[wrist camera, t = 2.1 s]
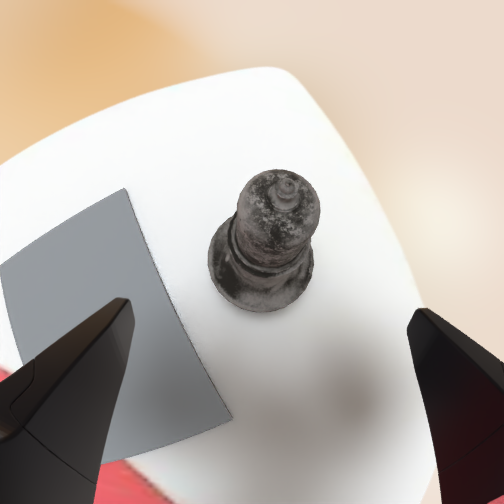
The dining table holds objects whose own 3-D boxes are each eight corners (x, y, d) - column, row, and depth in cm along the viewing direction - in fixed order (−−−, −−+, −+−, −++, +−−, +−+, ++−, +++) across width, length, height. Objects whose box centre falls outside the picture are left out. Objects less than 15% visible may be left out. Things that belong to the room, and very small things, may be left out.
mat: (232, 417, 16) (232, 419, 16) (76, 468, 14) (74, 469, 14) (125, 190, 20) (124, 187, 20) (1, 267, 18) (-2, 266, 17)
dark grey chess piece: (311, 247, 20) (395, 148, 8) (282, 328, 18) (358, 322, 7) (232, 217, 20) (232, 86, 9) (198, 295, 19) (142, 237, 7)
